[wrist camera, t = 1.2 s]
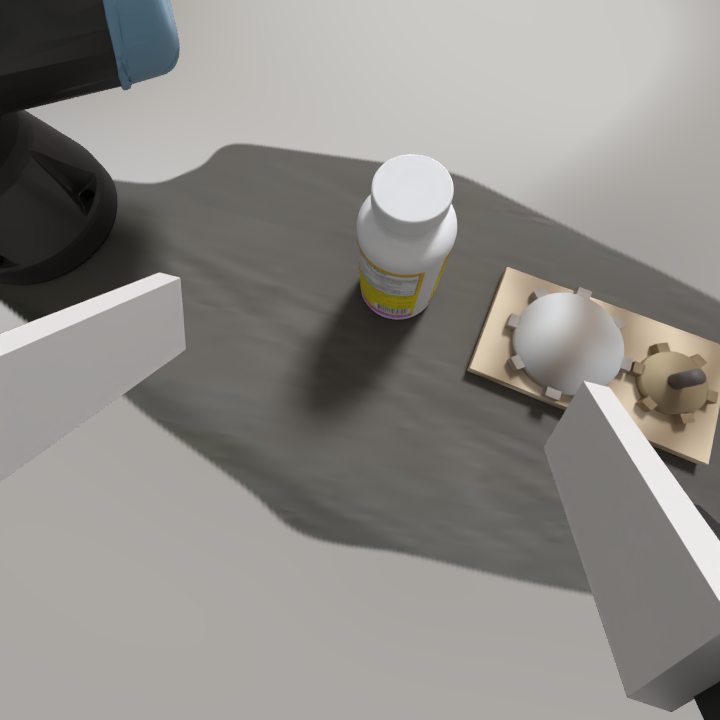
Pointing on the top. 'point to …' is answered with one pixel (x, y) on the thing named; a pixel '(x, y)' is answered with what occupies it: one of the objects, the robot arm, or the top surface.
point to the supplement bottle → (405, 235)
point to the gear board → (602, 360)
